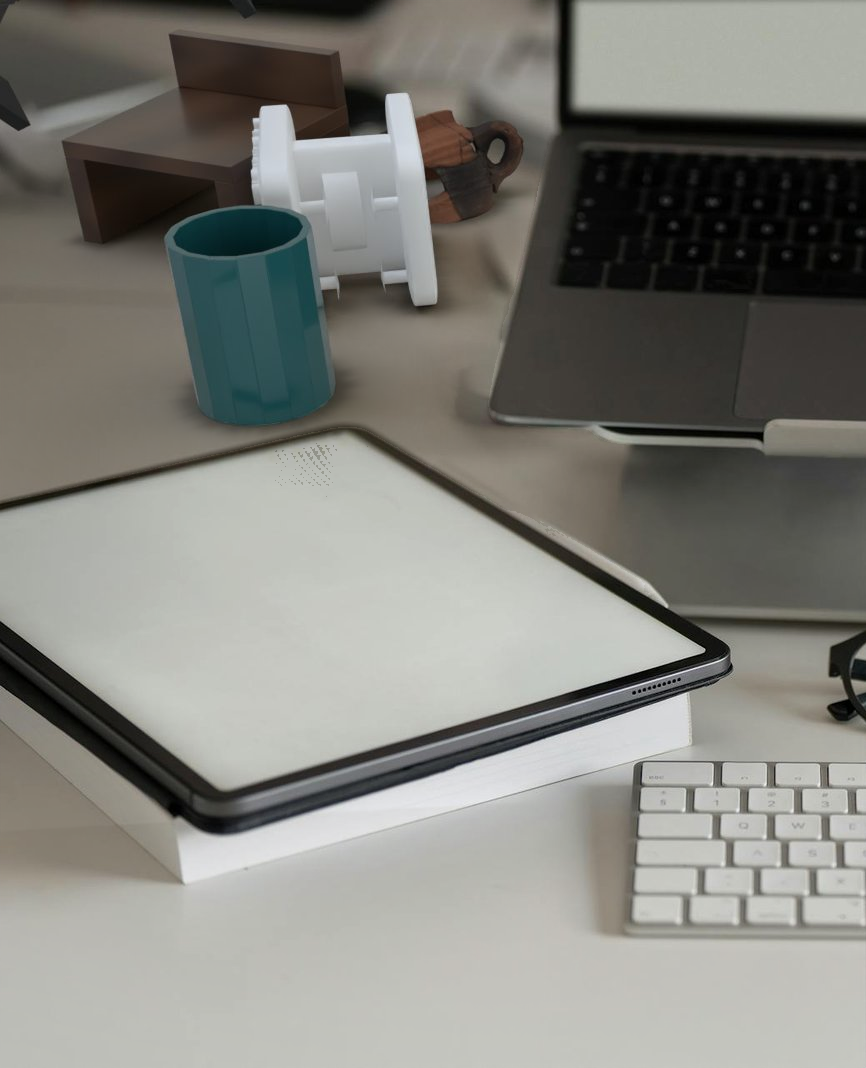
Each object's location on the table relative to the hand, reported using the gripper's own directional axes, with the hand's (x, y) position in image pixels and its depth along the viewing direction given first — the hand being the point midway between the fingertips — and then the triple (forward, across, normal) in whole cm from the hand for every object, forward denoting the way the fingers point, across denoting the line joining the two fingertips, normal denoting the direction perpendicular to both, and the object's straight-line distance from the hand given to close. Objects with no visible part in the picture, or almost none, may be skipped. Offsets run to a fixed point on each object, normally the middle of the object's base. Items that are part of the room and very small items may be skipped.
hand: (127, 50), depth 92 cm
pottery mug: (+37, +10, -5) cm, 39 cm away
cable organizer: (+25, +2, -11) cm, 27 cm away
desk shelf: (+34, -5, 0) cm, 34 cm away
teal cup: (+11, -4, -18) cm, 22 cm away
